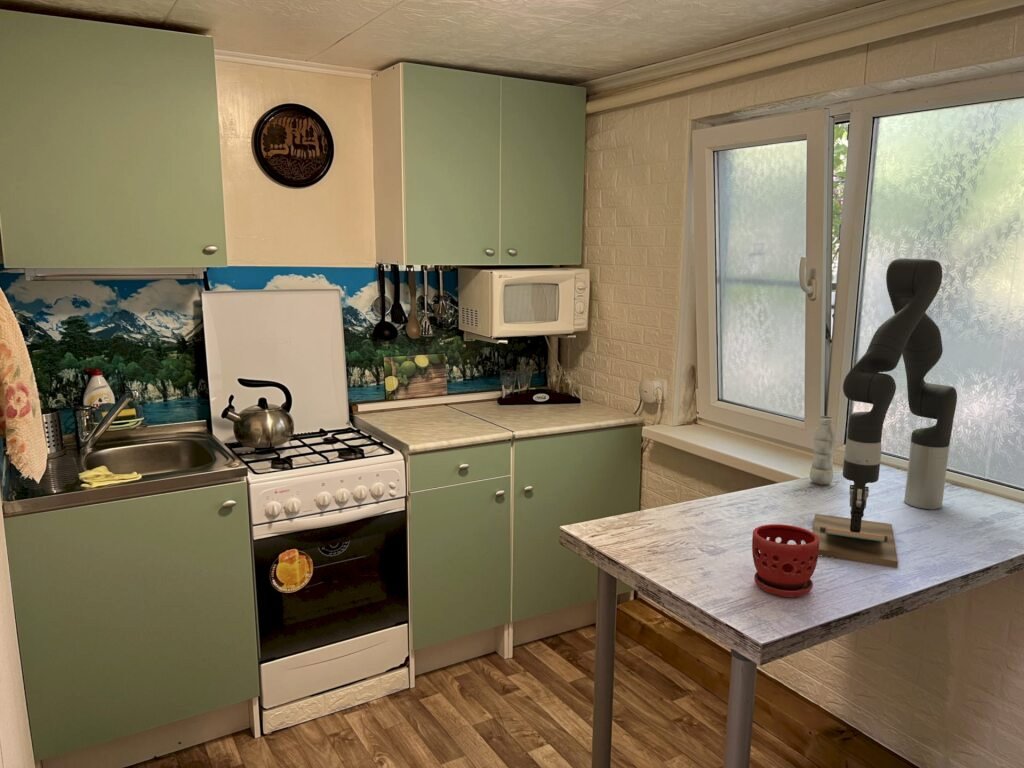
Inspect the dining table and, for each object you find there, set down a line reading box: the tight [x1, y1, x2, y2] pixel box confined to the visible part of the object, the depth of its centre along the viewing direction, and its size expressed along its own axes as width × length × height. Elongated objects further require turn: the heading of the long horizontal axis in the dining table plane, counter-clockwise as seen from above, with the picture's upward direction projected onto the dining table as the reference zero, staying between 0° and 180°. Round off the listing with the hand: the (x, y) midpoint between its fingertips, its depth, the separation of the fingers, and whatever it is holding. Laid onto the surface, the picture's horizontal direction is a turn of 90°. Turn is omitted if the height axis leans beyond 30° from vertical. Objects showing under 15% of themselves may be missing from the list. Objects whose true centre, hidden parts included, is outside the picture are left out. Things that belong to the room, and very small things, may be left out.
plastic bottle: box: [809, 415, 838, 486], centre depth 228 cm, size 6×7×20 cm
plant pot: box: [751, 523, 819, 598], centre depth 162 cm, size 13×13×12 cm
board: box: [812, 513, 899, 569], centre depth 187 cm, size 24×18×3 cm
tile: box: [826, 527, 885, 542], centre depth 182 cm, size 10×12×1 cm
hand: (854, 530), depth 180 cm, fingers closed
